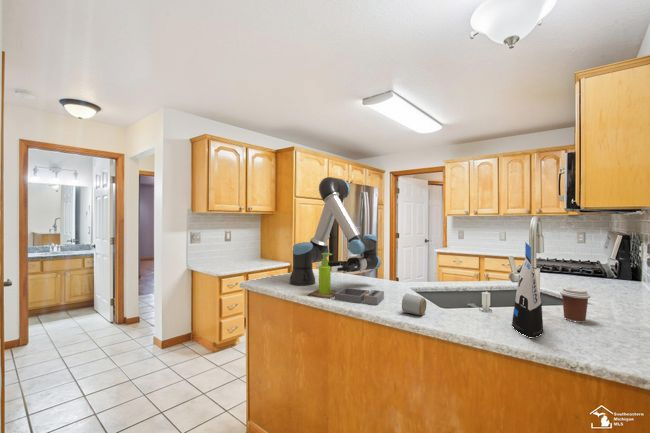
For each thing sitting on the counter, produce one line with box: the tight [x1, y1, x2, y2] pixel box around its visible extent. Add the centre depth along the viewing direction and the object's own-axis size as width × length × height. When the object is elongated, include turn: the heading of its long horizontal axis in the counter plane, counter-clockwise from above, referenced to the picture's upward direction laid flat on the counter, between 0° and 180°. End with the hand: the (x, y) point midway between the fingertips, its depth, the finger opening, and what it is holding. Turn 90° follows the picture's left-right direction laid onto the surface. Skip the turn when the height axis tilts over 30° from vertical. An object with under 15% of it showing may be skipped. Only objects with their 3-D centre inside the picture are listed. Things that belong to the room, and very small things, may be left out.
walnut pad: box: [307, 288, 339, 300], centre depth 154 cm, size 12×12×1 cm
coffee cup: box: [559, 286, 591, 323], centre depth 118 cm, size 9×9×12 cm
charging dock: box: [334, 287, 385, 306], centre depth 146 cm, size 13×20×4 cm, turn 64°
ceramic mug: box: [401, 293, 427, 316], centre depth 126 cm, size 11×8×8 cm
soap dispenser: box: [318, 252, 333, 294], centre depth 153 cm, size 6×7×20 cm
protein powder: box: [511, 241, 544, 338], centre depth 110 cm, size 10×24×30 cm, turn 150°
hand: (323, 267), depth 153 cm, fingers open, 13 cm apart
